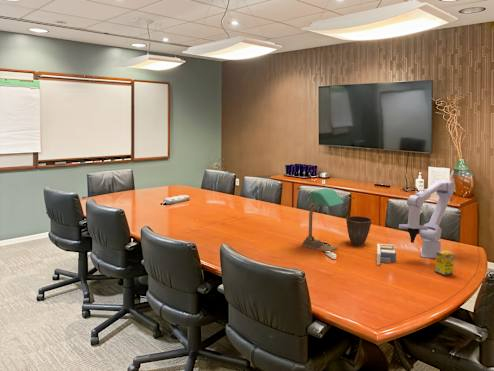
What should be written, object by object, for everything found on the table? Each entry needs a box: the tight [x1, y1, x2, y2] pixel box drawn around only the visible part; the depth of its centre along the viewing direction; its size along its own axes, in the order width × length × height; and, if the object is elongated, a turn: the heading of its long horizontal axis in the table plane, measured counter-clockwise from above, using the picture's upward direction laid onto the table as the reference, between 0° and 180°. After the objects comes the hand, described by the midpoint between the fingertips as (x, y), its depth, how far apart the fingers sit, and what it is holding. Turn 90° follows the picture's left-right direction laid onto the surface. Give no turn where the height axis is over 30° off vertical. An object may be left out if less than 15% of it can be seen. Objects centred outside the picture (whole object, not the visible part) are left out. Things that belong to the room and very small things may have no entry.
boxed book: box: [380, 249, 397, 263], centre depth 232 cm, size 8×4×6 cm, turn 75°
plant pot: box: [345, 215, 373, 247], centre depth 261 cm, size 15×15×16 cm
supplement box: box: [434, 249, 455, 277], centre depth 213 cm, size 6×6×11 cm
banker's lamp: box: [301, 188, 344, 253], centre depth 252 cm, size 16×21×35 cm
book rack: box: [376, 243, 395, 266], centre depth 233 cm, size 9×19×6 cm, turn 164°
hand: (412, 242), depth 231 cm, fingers closed
